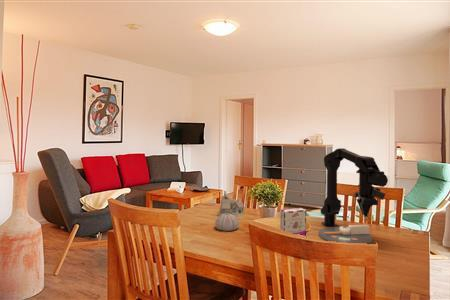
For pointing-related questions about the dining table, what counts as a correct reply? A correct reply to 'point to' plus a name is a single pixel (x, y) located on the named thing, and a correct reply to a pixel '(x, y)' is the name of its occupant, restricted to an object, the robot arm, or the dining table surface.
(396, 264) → the dining table surface
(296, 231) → the candy bar box
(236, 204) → the ceramic cottage
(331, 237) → the round gray plate
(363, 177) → the robot arm
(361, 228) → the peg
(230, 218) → the sea urchin shell
